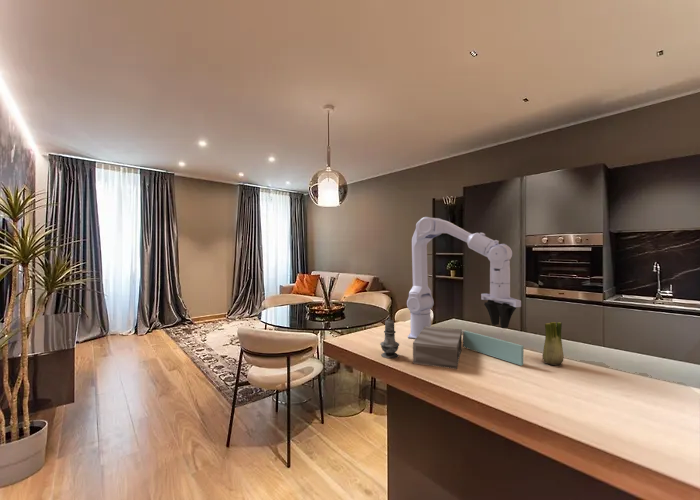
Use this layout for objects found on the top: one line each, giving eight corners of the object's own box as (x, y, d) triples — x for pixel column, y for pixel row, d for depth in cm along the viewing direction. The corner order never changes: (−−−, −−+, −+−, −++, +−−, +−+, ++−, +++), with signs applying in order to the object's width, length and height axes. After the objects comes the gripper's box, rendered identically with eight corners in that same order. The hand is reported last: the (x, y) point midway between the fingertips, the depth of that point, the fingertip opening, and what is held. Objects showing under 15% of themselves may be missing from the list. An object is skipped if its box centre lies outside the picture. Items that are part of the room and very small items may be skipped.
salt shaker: (393, 360, 96) (393, 319, 96) (376, 356, 100) (376, 317, 100) (402, 354, 101) (402, 316, 101) (386, 351, 105) (386, 313, 104)
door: (462, 346, 107) (462, 330, 107) (466, 345, 108) (465, 329, 108) (521, 365, 91) (521, 346, 90) (525, 364, 92) (525, 345, 91)
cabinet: (424, 343, 112) (424, 326, 112) (461, 347, 108) (461, 329, 107) (413, 363, 94) (412, 342, 94) (456, 369, 89) (456, 347, 89)
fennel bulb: (560, 361, 94) (560, 320, 94) (568, 367, 90) (569, 324, 89) (538, 360, 95) (538, 319, 95) (546, 366, 90) (546, 323, 90)
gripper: (473, 280, 107) (473, 321, 108) (507, 286, 94) (507, 333, 94) (491, 280, 110) (491, 320, 110) (526, 285, 96) (526, 331, 96)
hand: (499, 326), depth 102 cm, fingers open, 3 cm apart
